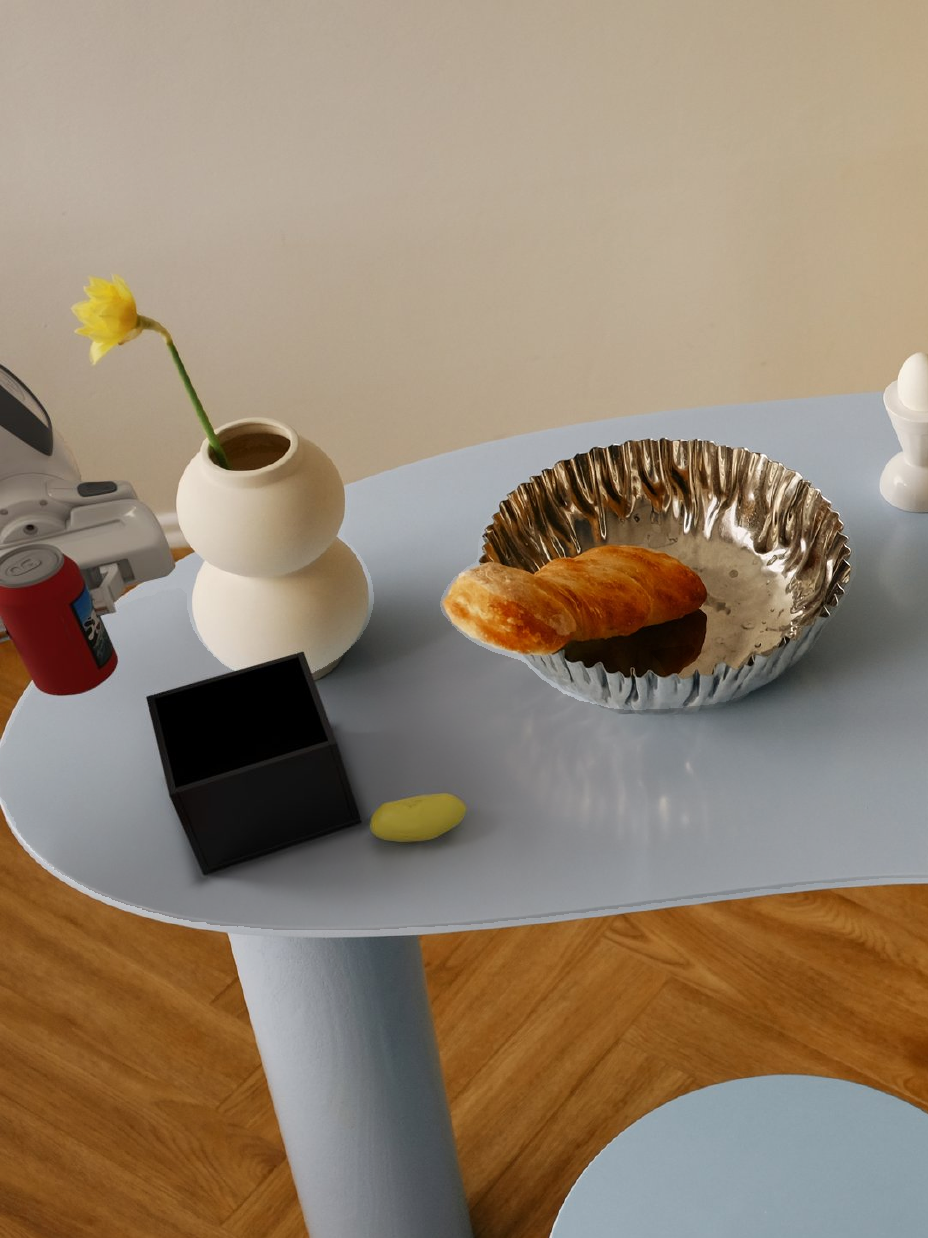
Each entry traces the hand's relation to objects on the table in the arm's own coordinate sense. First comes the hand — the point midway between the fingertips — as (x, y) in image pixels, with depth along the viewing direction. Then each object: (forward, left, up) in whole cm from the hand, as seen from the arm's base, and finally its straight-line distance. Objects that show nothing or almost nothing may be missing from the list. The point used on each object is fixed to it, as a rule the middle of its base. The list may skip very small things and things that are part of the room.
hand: (52, 621), depth 123 cm
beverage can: (0, +1, -7) cm, 7 cm away
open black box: (+11, -9, -18) cm, 23 cm away
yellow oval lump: (+22, -19, -18) cm, 34 cm away
